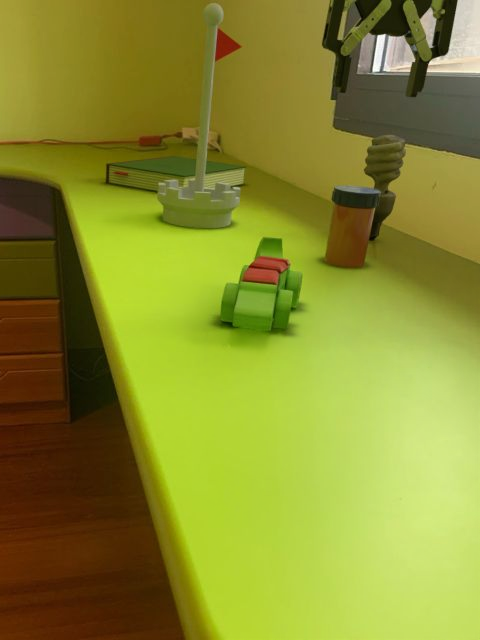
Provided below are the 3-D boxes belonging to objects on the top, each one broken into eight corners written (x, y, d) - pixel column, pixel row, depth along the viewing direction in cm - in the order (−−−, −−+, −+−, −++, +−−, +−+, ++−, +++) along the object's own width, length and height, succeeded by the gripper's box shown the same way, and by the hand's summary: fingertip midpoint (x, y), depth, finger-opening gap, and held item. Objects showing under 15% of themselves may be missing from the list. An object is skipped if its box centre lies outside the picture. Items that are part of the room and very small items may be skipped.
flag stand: (177, 230, 103) (193, -4, 89) (143, 213, 114) (153, 0, 100) (252, 228, 108) (278, 5, 94) (213, 211, 119) (231, 8, 105)
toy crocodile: (279, 352, 61) (289, 285, 58) (206, 340, 63) (213, 274, 60) (303, 293, 78) (312, 239, 75) (245, 285, 80) (252, 231, 77)
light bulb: (391, 246, 103) (414, 137, 96) (355, 244, 102) (375, 135, 95) (381, 237, 107) (402, 133, 100) (346, 235, 107) (365, 131, 100)
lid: (371, 200, 91) (374, 187, 90) (384, 208, 86) (386, 194, 85) (327, 197, 91) (329, 184, 90) (337, 205, 86) (339, 191, 85)
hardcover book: (172, 173, 158) (173, 155, 156) (244, 184, 148) (246, 166, 147) (103, 183, 139) (103, 163, 137) (181, 197, 130) (182, 176, 128)
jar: (358, 259, 94) (371, 191, 90) (368, 268, 90) (382, 198, 85) (320, 256, 94) (332, 188, 90) (328, 266, 90) (340, 195, 85)
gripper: (458, -62, 78) (424, 97, 86) (333, -71, 78) (310, 89, 85) (485, -73, 71) (446, 100, 79) (349, -83, 71) (322, 92, 79)
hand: (375, 94), depth 82 cm, fingers open, 8 cm apart
